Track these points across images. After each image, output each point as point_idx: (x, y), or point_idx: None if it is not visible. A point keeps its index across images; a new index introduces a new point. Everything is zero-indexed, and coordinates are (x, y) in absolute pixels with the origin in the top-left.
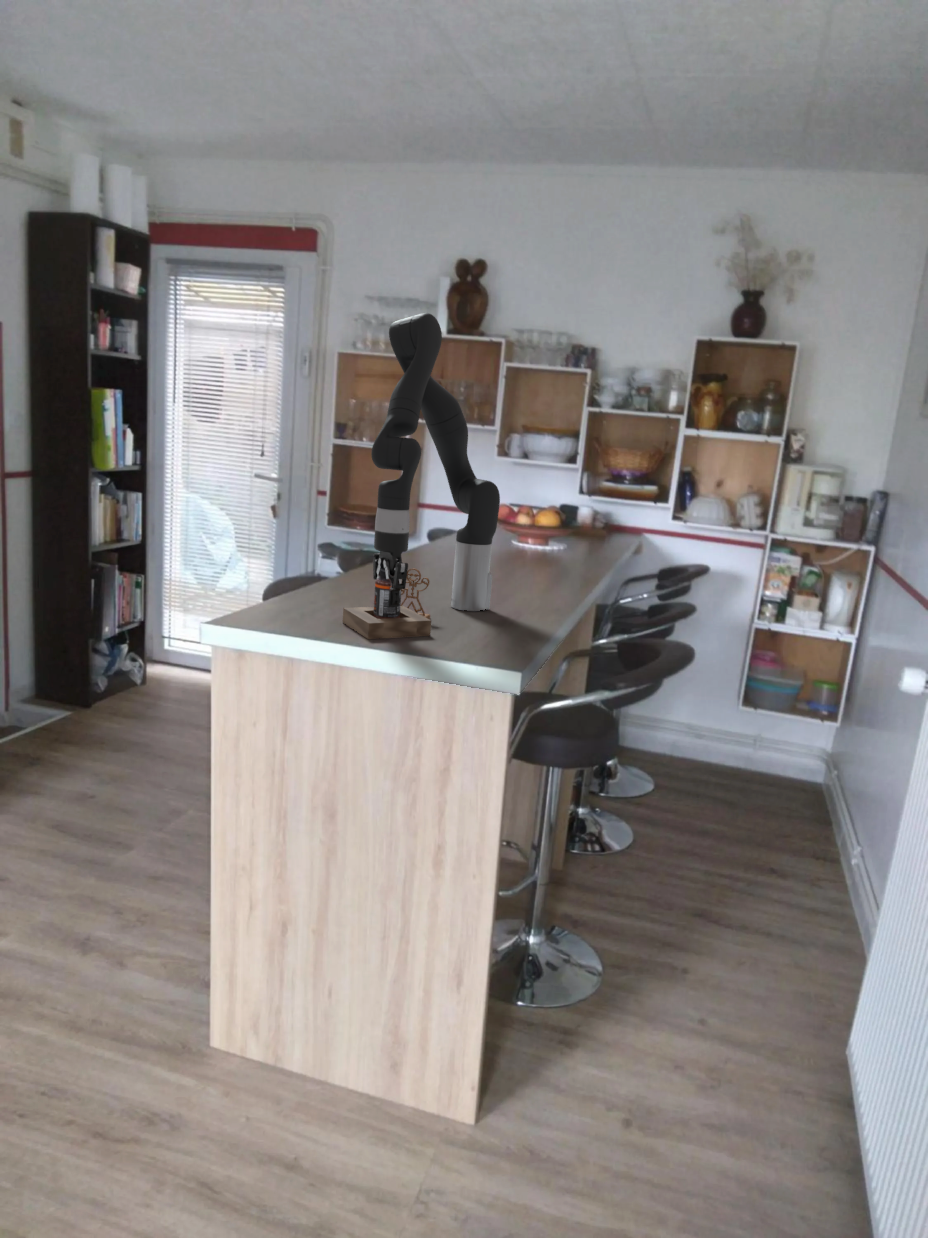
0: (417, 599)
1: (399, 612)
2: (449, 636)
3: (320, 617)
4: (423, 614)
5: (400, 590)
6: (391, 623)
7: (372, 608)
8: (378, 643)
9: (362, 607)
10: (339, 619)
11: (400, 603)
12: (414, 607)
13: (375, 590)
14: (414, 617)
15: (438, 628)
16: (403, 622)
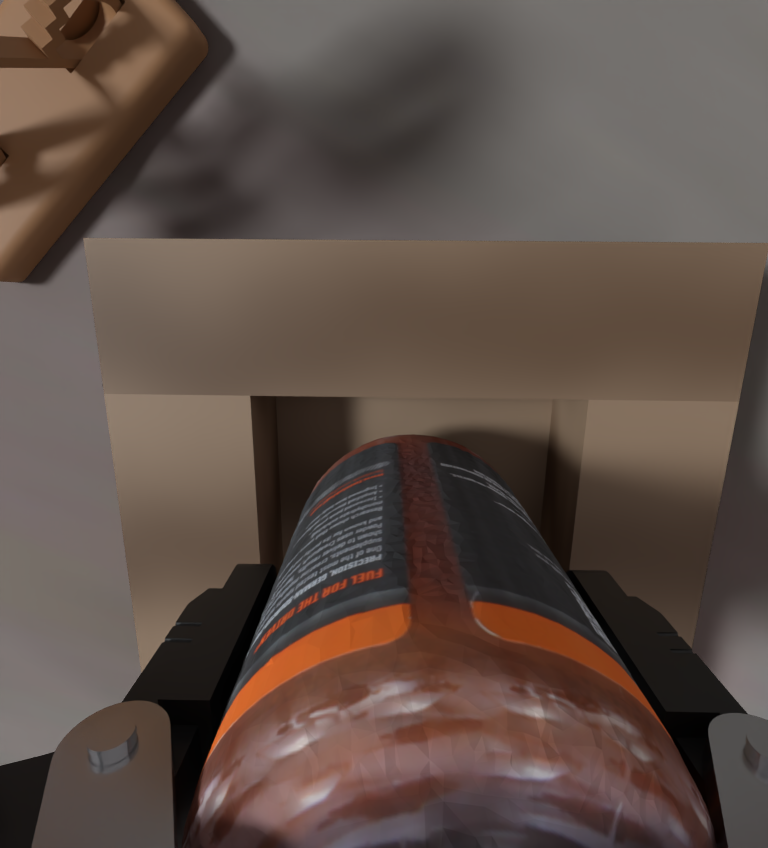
0: None
1: (501, 480)
2: (751, 92)
3: (55, 750)
4: (115, 3)
5: (602, 636)
6: (687, 623)
7: (190, 580)
8: (717, 674)
9: (147, 642)
10: (111, 671)
11: (501, 501)
12: (2, 50)
13: None
14: (599, 359)
15: (479, 50)
16: (711, 529)
